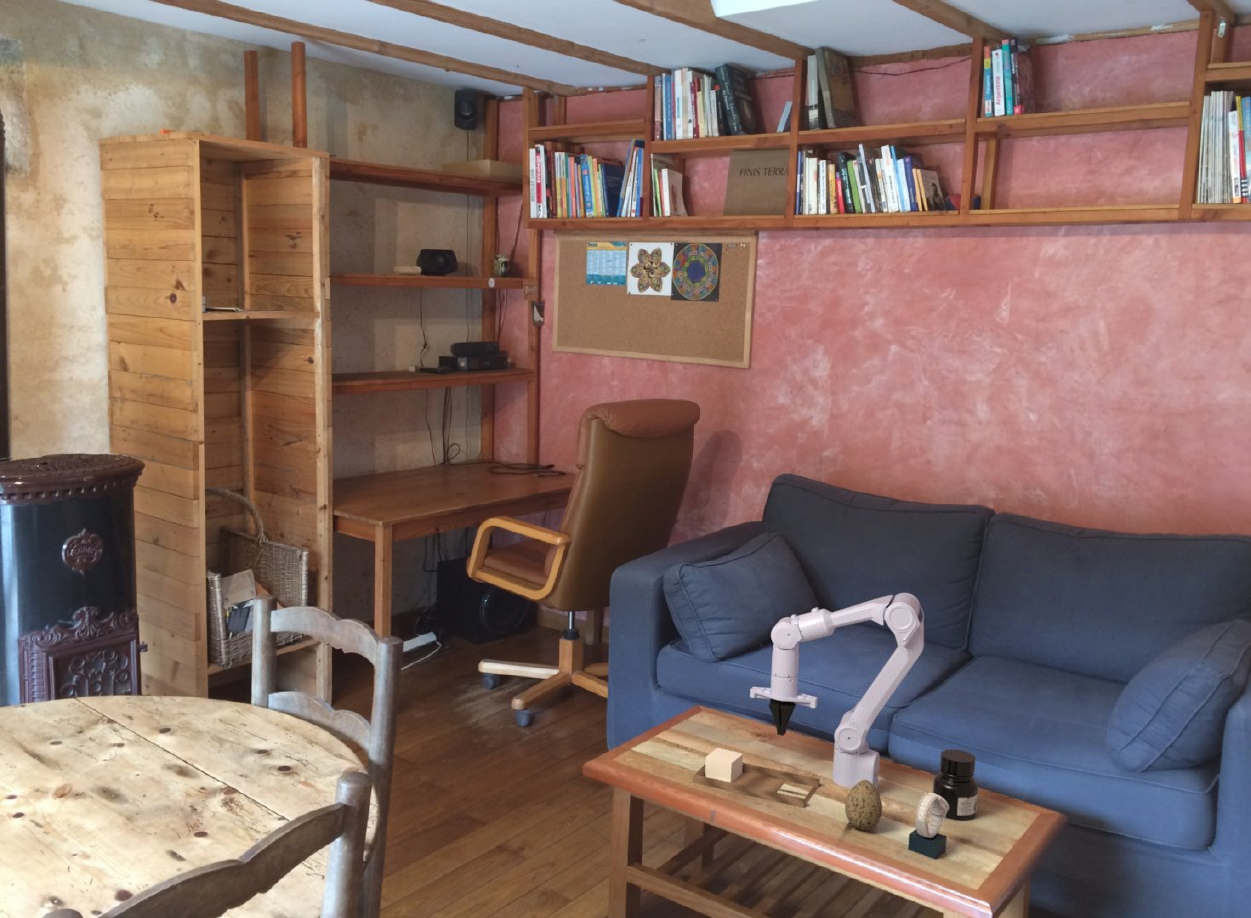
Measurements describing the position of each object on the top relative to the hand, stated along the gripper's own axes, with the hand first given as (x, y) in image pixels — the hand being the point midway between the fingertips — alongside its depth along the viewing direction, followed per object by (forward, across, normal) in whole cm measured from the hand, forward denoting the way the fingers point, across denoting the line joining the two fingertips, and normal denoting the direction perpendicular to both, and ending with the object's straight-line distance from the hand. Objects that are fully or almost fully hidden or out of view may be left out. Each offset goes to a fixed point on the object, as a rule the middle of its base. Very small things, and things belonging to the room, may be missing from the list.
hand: (781, 733), depth 240 cm
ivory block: (+8, +10, +10) cm, 16 cm away
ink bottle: (+10, -37, +1) cm, 38 cm away
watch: (+10, -35, +21) cm, 41 cm away
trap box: (+9, +2, +11) cm, 14 cm away
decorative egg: (+10, -22, +17) cm, 29 cm away
